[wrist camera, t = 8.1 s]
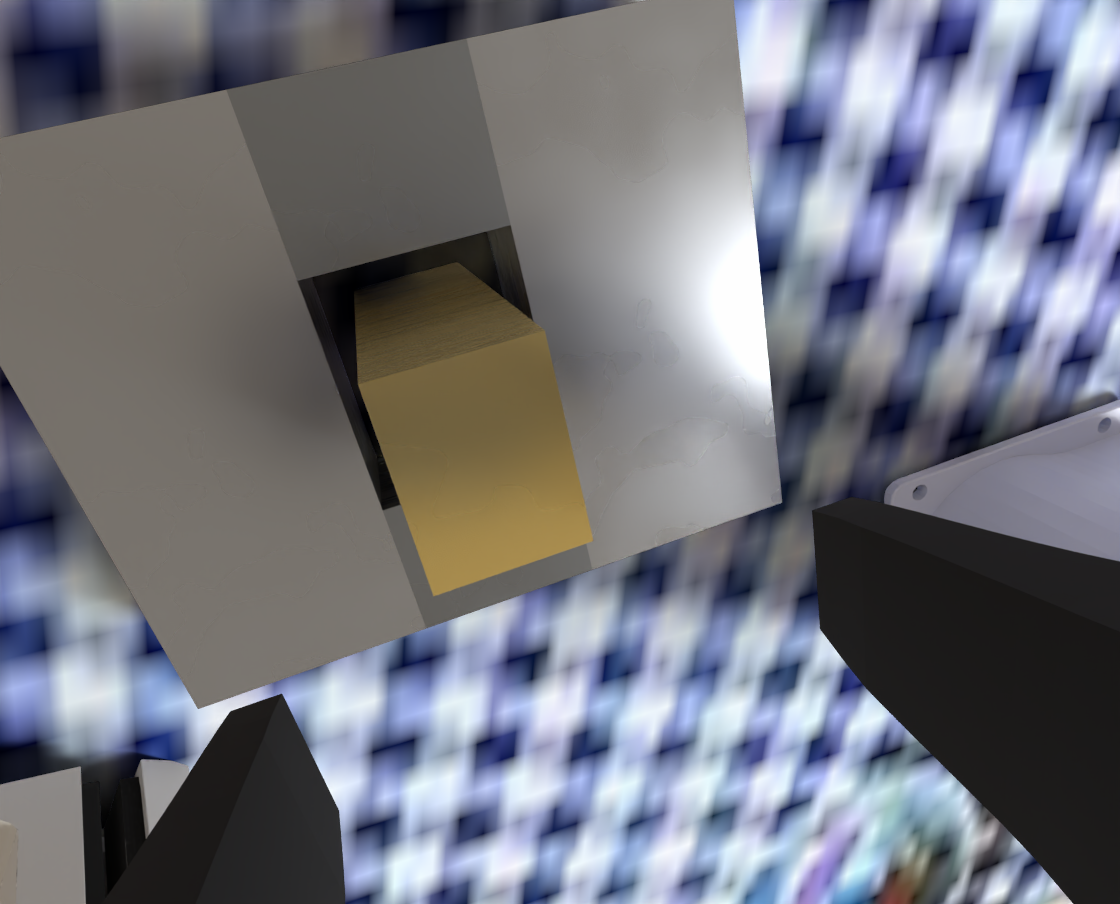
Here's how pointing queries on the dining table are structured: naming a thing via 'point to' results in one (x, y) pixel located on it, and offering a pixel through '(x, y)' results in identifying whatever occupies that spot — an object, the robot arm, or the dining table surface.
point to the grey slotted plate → (309, 347)
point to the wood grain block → (468, 424)
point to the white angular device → (77, 832)
